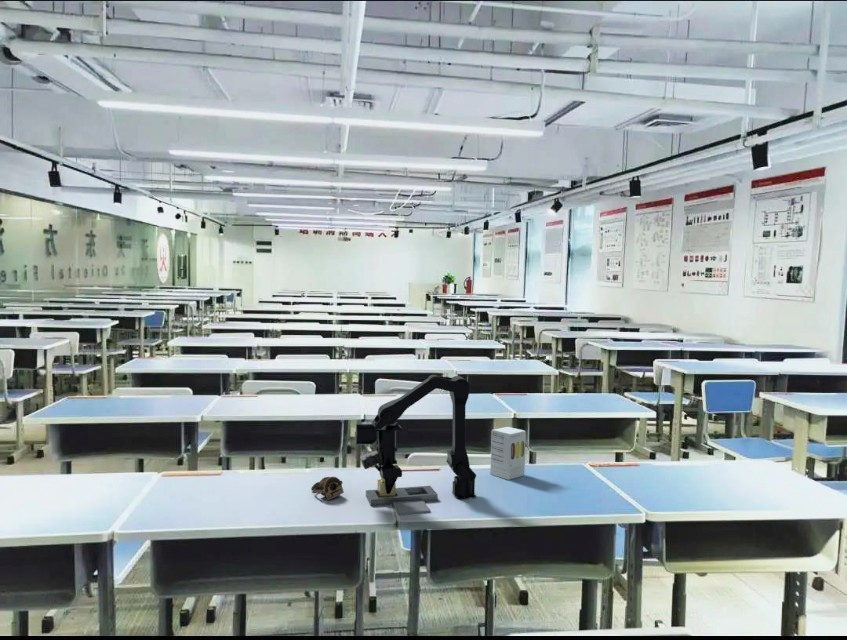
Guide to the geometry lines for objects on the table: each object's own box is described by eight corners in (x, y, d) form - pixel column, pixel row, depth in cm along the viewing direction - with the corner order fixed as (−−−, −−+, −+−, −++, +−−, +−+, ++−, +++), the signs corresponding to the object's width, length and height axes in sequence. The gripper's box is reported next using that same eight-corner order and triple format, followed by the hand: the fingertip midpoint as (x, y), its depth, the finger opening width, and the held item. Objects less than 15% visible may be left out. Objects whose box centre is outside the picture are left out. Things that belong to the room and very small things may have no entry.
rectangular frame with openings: (430, 491, 213) (430, 485, 213) (437, 500, 204) (437, 494, 204) (365, 496, 207) (365, 490, 207) (370, 505, 199) (370, 499, 198)
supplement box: (508, 480, 226) (509, 434, 225) (489, 474, 233) (490, 429, 232) (525, 475, 232) (526, 430, 231) (506, 469, 239) (507, 425, 238)
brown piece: (312, 486, 200) (342, 477, 203) (306, 471, 212) (335, 462, 215) (316, 507, 202) (347, 497, 204) (311, 490, 214) (339, 481, 216)
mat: (422, 501, 203) (422, 499, 203) (430, 512, 194) (430, 510, 194) (392, 503, 201) (392, 501, 201) (398, 514, 191) (398, 513, 191)
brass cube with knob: (392, 496, 208) (392, 472, 207) (395, 501, 203) (395, 477, 202) (377, 497, 206) (377, 473, 206) (380, 502, 201) (380, 478, 201)
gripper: (357, 437, 210) (357, 483, 211) (367, 452, 192) (366, 502, 193) (390, 436, 213) (389, 481, 214) (402, 450, 195) (402, 500, 196)
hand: (386, 491), depth 204 cm, fingers closed on brass cube with knob, 5 cm apart
